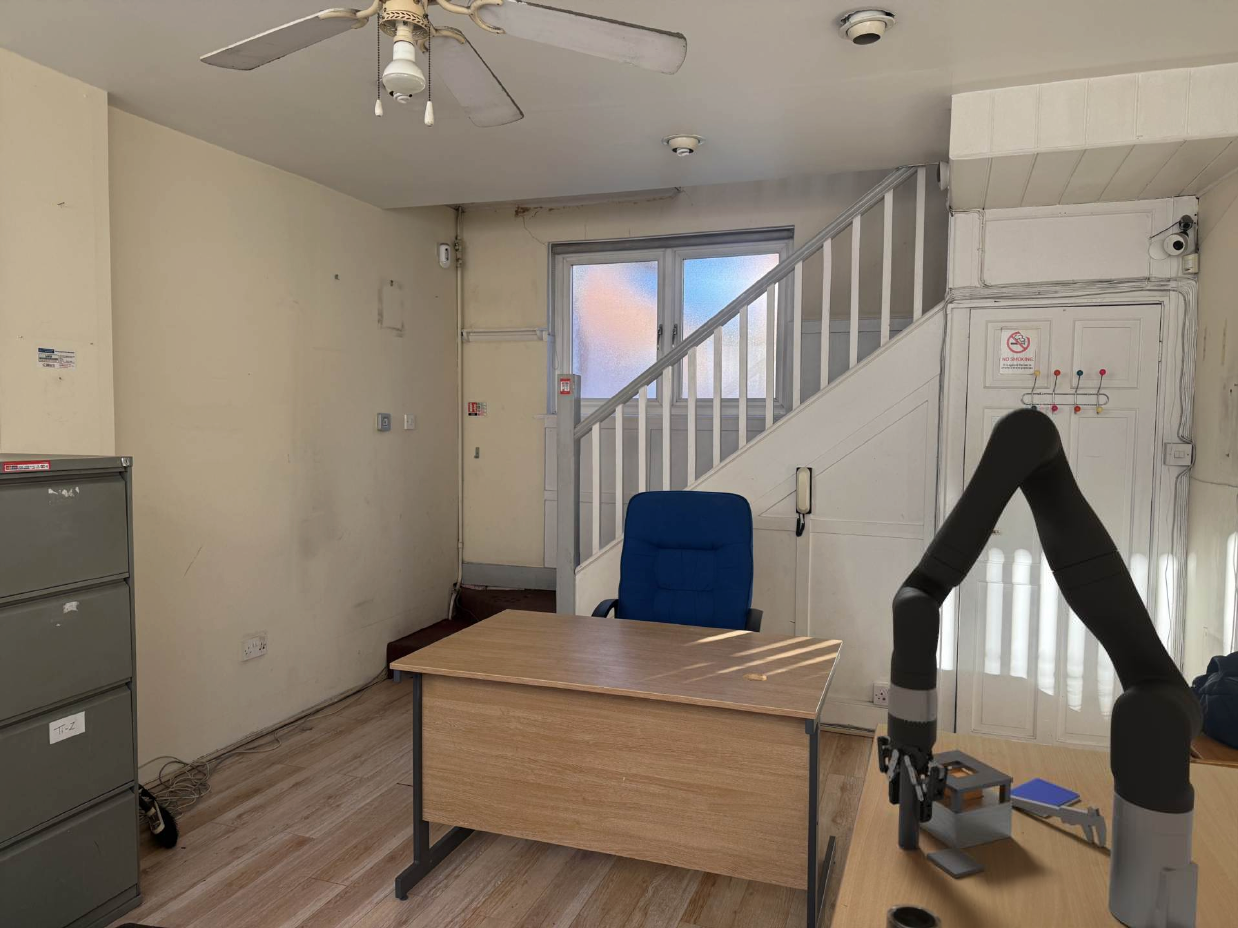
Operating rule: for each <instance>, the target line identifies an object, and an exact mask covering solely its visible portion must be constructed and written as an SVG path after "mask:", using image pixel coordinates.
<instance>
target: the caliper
mask: <svg viewBox="0 0 1238 928" xmlns="http://www.w3.org/2000/svg"><path fill="white" fill-rule="evenodd" d="M995 792H996V791H995ZM996 793H998V794H999V791H997V792H996ZM1010 800H1011V801H1012V807H1017V808H1021V809H1022V808H1024V809H1023V810H1025V809H1028V810H1032V811H1036V812H1040V813H1043V814H1047V815H1048V816H1051V817H1055V818H1059V819H1060V821H1061V823H1062V824H1065V825H1066V824H1067V825H1069V826H1077V825H1079V826H1081V829H1082V832H1083V834H1084V835H1085V836H1084V837H1085V839H1086V841H1087V843H1090V844H1093V843H1095V835H1094V831H1093V827H1095V833H1096V836H1097V842H1098V846H1099V848H1103V847H1105V846H1106V845H1107V826H1106V821H1105V817H1104V815H1101V813H1100V809H1099V807H1096V808H1093V806H1092V805H1089V806H1087V809H1086V810H1083V809H1079V808H1074V807H1071V806H1068V805H1067V806H1060V807H1056V806H1052V805H1048V804H1044V803H1040V802H1036V801H1032V800H1028V799H1024V798H1020V797H1016V796H1012V795H1011V797H1010Z"/></svg>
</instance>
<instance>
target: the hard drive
mask: <svg viewBox="0 0 1238 928" xmlns="http://www.w3.org/2000/svg"><path fill="white" fill-rule="evenodd" d="M1011 795H1012V796H1016V797H1020V798H1024V799H1028V800H1032V801H1036V802H1040V803H1044V804H1048V805H1052V806H1056V807H1060V806H1067V807H1068V806H1069V805H1071V804H1073V803H1075V802H1077V801H1079V800H1081V799H1080V798H1081V795H1080V794H1079V793H1077V792H1075V791H1072V790H1069V789H1067V788H1064V787H1062V786H1059V785H1057V784H1055V783H1052V782H1049V781H1046V780H1044V779H1041V778H1039V777H1036V778H1033V779H1031V780H1029V781H1027V782H1025V783H1022V784H1020V785H1018V786H1015V787H1013V788H1011ZM1021 809H1023V810H1025V811H1027V812H1030V813H1032V814H1035V815H1037V816H1040V817H1042V818H1046V817H1048V816H1049V815H1047V814H1043V813H1040V812H1036V811H1032V810H1028V809H1024V808H1021Z"/></svg>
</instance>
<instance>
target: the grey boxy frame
mask: <svg viewBox="0 0 1238 928" xmlns="http://www.w3.org/2000/svg"><path fill="white" fill-rule="evenodd" d="M933 757H934V761H936V762H937V763H938V764H940V765H943V764H945V765H947V767H948V768H949V767H951V769H952V768H957V767H958V768H960V769H962V770H964V769H965V770H966V771H968V772H970V774H971V773H972V774H971V775H966V776H961V777H956V776H955V775H953V774H951V773H949V772H948V775H947V781H946V787H945V788H947V789H948V790H950V791H952V795H951V799H950V798H948V797H946V796H944V798H943V799H942V800H938V801H933V802H932V818H931V820H930V821H929V822H925V823H920V826H919V828H921V829H923V830H925V831H926V832H928V833H929V834H931V836H934V837H935V838H936V839H938V841H939V840H940V841H941V842H943V843H944V844H946V845H947V846H948V847H949V848H952V847H957V848H958V849H960V850H962V849H965V848H970V847H975V846H977V845H982V844H985V843H989V842H993V841H997V840H1001V839H1006V838H1009V837H1010V838H1011V837H1012V815H1013V813H1012V812H1013V806H1012V801H1011V800H1010V797H1011V789H1012V784H1013V783H1014V777H1012V776H1010V775H1008V774H1007V773H1004V772H1002V771H1000V770H998V769H996V768H994V767H993V766H991V765H989V764H987V763H985V762H982V761H981V760H979V759H977V758H975V757H973V756H971V755H969V754H967V753H965V752H963V751H962V750H959V749H955V750H954V749H953V750H949V751H944V752H938V753H933ZM922 776H924V777H925V774H923V775H922ZM994 787H999V789H998V790H999V791H998V792H999V794H998V793H996V791H994V790H992V789H990V788H994ZM981 789H983V792H982V797H981V798H976V799H972V800H967V801H963V793H968V792H972V791H977V790H981ZM923 790H924V792H926V787H925V784H923ZM935 792H936V791H935Z"/></svg>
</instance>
